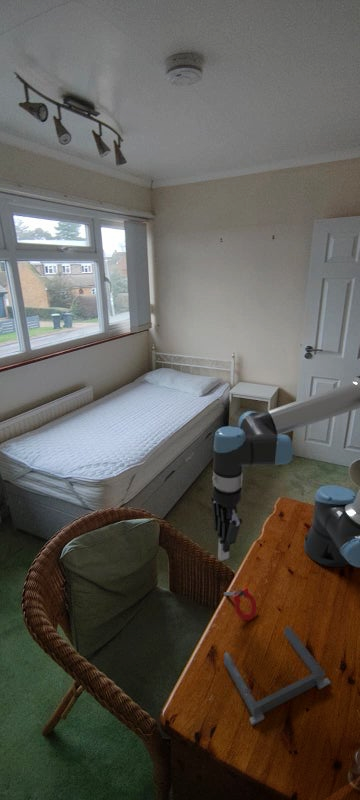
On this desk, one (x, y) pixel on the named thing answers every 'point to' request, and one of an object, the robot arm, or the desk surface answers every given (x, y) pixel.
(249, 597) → the tow hook
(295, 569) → the desk surface
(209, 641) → the desk surface
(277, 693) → the bracket
